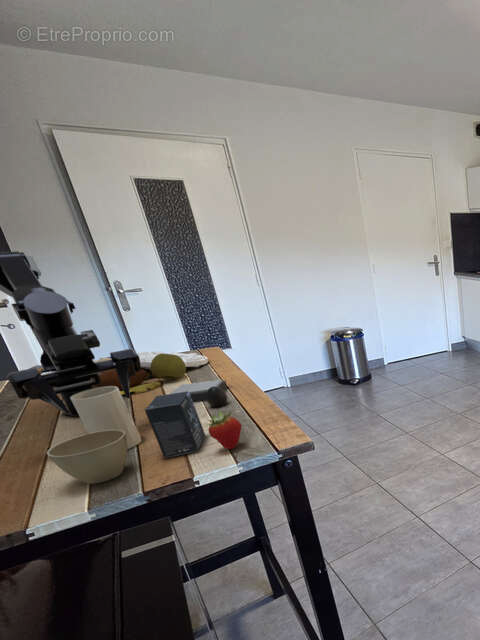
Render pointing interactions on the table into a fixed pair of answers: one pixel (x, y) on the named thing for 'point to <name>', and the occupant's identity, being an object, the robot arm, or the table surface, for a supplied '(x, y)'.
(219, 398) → the egg
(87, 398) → the tumbler
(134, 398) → the table surface
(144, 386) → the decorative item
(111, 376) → the potato
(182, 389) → the scale
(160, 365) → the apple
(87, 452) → the bowl
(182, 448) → the box
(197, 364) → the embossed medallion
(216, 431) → the fruit
